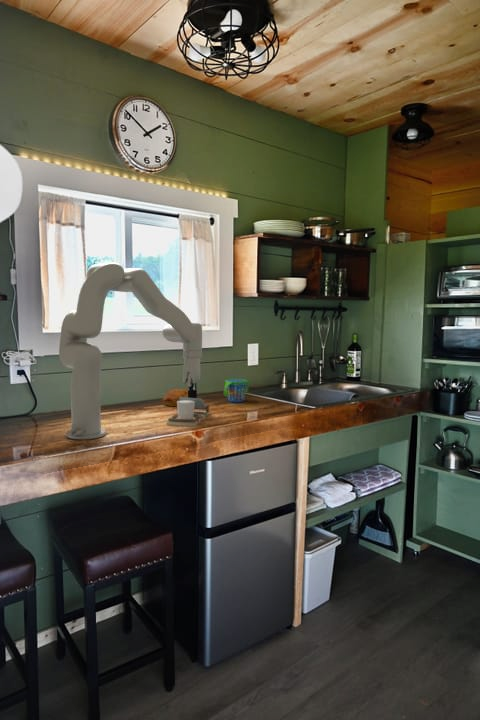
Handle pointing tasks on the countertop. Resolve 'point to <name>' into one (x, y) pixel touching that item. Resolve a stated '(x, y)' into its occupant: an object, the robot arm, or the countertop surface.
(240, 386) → the snack cup
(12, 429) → the countertop surface
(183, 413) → the white tapered cup
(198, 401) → the flap
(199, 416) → the jig board
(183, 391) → the croissant
